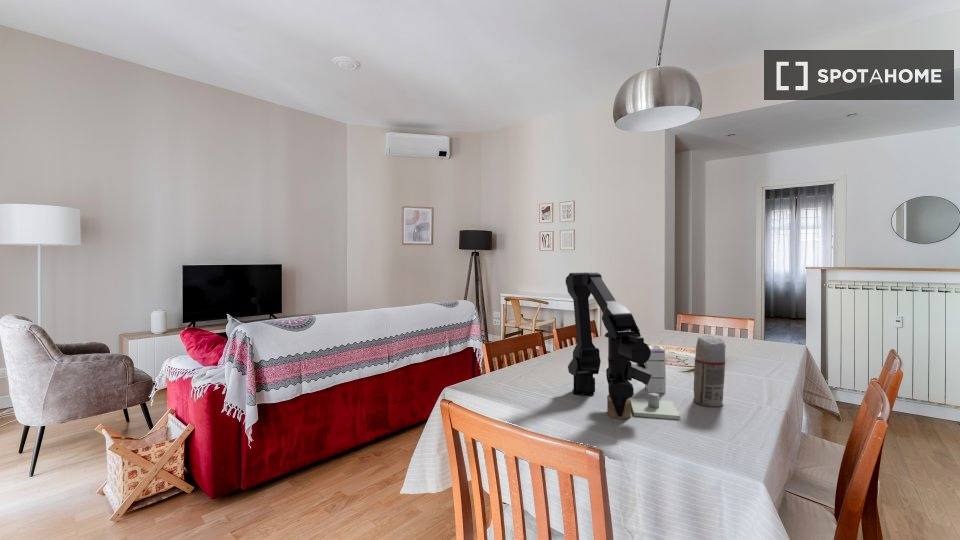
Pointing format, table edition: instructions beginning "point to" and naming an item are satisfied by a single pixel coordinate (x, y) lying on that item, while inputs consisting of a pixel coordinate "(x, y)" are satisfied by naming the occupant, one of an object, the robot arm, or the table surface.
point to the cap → (612, 411)
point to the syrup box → (656, 370)
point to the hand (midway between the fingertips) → (618, 410)
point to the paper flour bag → (709, 371)
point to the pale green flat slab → (654, 407)
